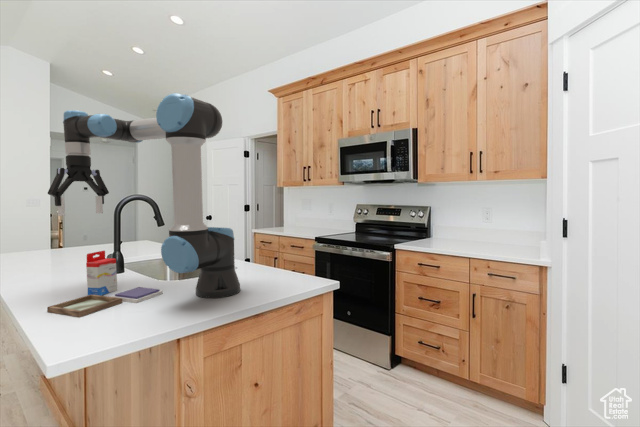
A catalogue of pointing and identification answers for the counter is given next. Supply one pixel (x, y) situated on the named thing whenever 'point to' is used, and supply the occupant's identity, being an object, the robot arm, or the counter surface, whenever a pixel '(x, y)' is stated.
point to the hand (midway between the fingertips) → (81, 214)
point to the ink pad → (138, 294)
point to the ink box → (101, 274)
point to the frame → (84, 305)
